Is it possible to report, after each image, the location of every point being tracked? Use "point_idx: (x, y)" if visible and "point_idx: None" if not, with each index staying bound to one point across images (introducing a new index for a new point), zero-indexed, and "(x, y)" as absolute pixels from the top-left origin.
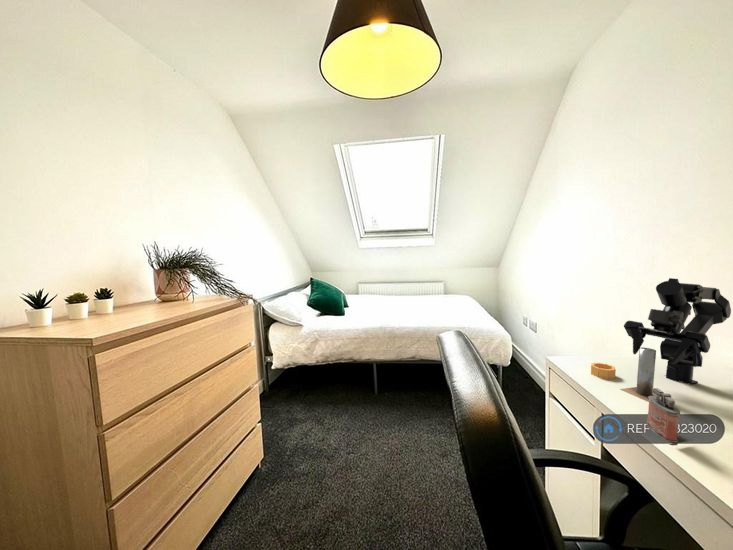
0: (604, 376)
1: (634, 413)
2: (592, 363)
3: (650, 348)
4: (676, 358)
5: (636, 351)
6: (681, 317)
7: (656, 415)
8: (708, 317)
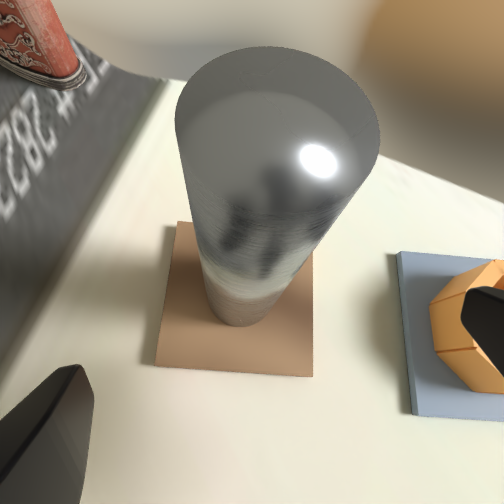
0: (446, 289)
1: (153, 116)
2: None
3: (308, 207)
4: (10, 415)
5: (495, 340)
6: None
7: None
8: None
